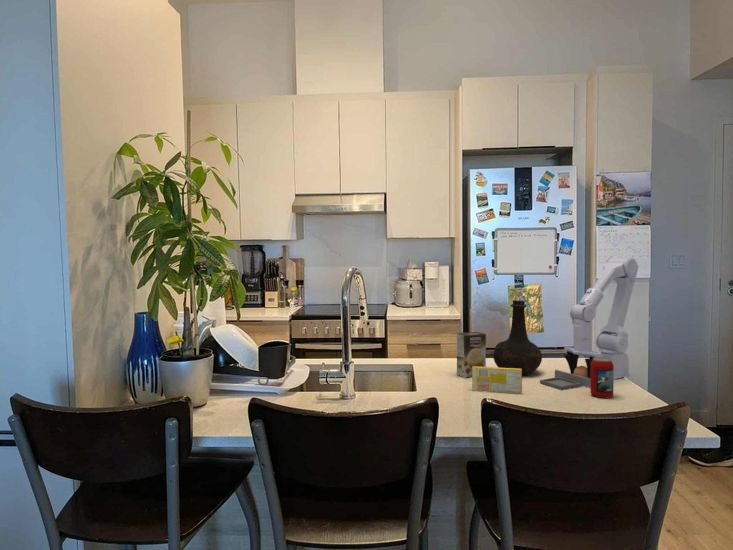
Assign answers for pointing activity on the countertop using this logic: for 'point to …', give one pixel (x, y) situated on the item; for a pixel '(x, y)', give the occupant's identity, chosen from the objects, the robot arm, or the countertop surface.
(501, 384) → the candy box
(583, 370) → the ball
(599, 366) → the beverage can
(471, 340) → the coffee box
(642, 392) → the countertop surface
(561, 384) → the charcoal dish
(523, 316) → the glass bottle
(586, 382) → the low fence
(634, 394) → the countertop surface
